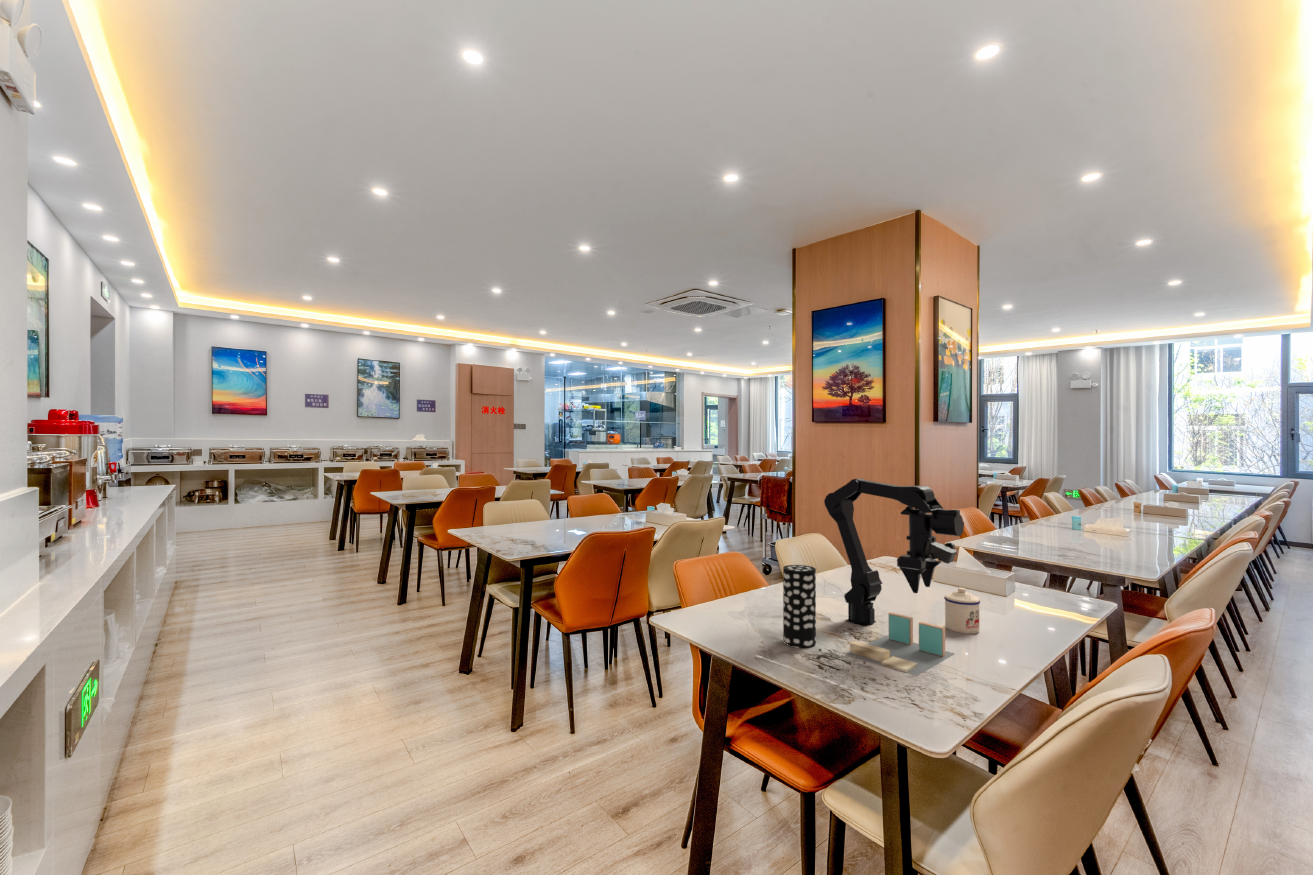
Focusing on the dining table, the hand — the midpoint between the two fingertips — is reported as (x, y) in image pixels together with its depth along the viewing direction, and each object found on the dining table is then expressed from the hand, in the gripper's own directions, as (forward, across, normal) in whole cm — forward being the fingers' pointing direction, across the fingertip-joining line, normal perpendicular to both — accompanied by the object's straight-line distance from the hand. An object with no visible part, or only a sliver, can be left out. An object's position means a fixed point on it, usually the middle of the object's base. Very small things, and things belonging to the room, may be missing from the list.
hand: (921, 589), depth 154 cm
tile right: (+13, -10, -6) cm, 18 cm away
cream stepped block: (+13, -24, +2) cm, 27 cm away
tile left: (+13, -8, +3) cm, 15 cm away
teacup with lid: (+14, +18, -6) cm, 23 cm away
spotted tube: (+13, -27, +22) cm, 37 cm away
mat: (+13, -16, 0) cm, 21 cm away
